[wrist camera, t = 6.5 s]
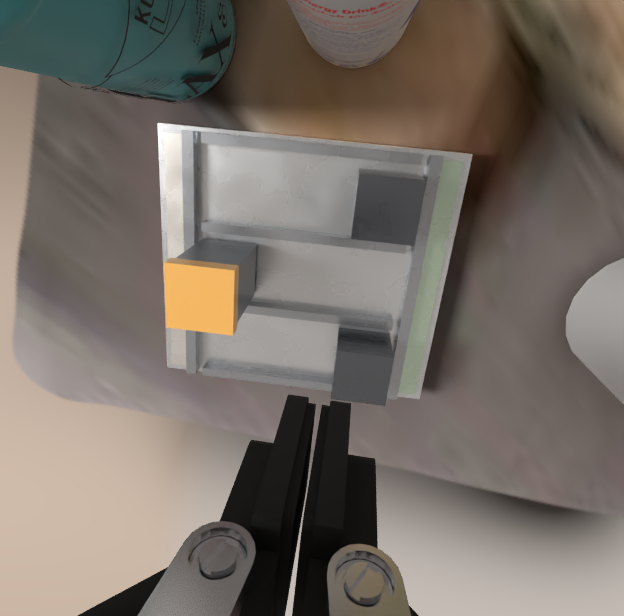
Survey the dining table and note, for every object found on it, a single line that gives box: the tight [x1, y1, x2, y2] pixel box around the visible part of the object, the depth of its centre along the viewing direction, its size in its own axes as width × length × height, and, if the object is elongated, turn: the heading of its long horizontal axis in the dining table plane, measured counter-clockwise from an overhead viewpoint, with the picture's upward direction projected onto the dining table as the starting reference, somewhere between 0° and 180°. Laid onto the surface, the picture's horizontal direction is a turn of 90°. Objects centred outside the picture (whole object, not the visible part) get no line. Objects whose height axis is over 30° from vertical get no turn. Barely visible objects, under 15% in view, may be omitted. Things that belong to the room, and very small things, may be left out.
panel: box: [158, 123, 473, 406], centre depth 24 cm, size 16×14×4 cm
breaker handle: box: [164, 238, 257, 336], centre depth 23 cm, size 3×3×5 cm
